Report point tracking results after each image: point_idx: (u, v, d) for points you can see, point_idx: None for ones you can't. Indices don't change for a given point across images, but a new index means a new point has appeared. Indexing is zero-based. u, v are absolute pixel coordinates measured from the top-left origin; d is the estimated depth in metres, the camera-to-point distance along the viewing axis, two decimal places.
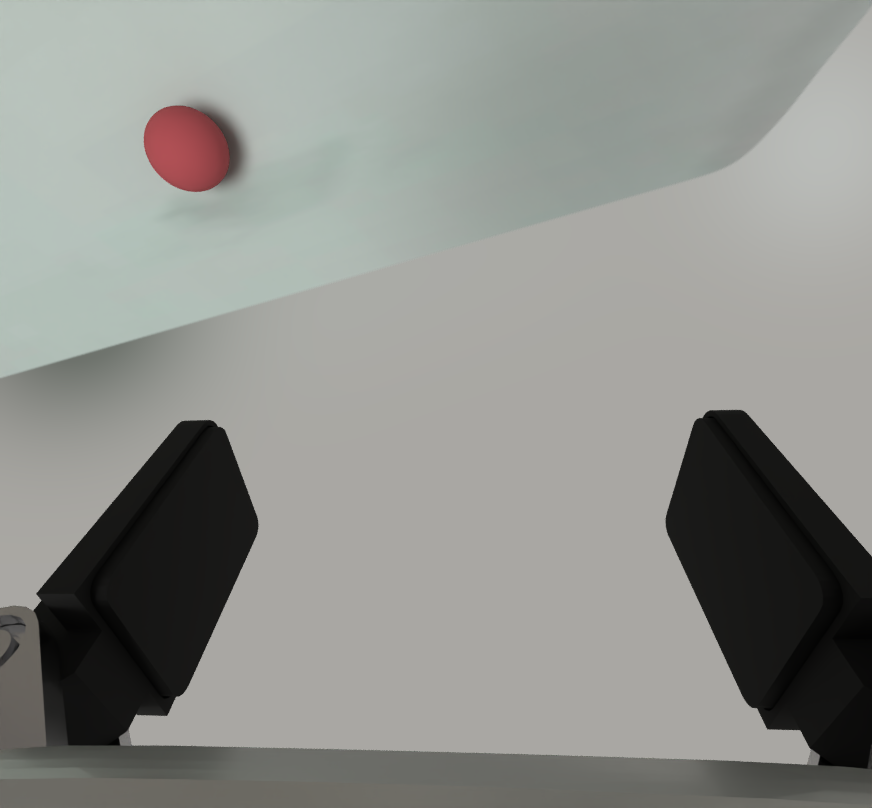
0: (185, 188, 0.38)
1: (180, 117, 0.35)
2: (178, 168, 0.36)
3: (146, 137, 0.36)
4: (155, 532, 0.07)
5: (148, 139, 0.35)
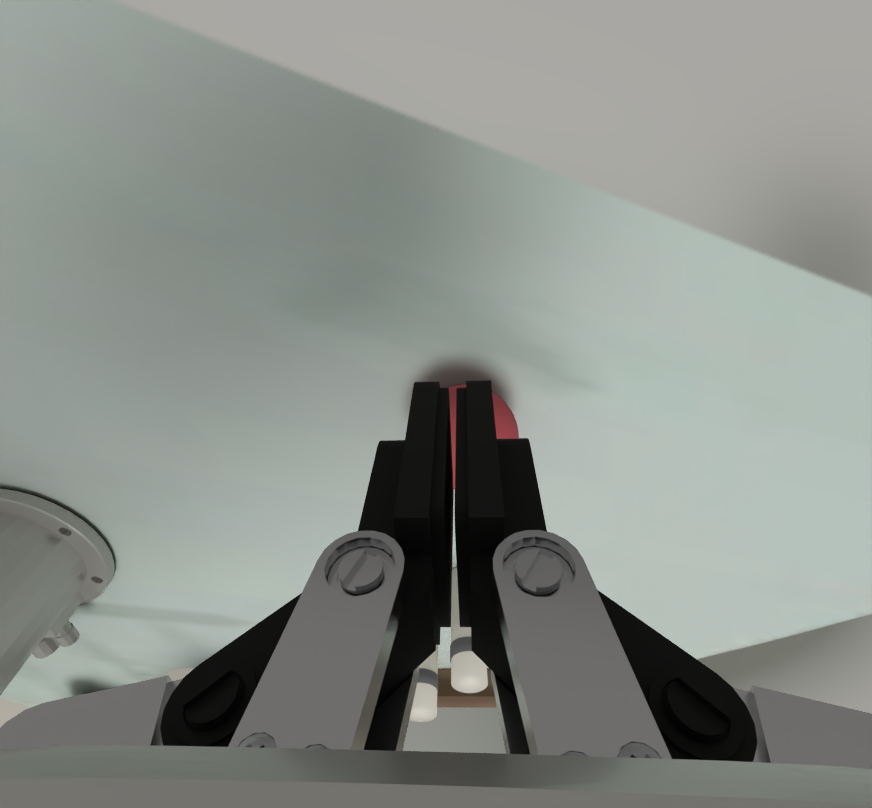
0: (498, 425, 0.25)
1: None
2: None
3: None
4: (446, 474, 0.08)
5: None
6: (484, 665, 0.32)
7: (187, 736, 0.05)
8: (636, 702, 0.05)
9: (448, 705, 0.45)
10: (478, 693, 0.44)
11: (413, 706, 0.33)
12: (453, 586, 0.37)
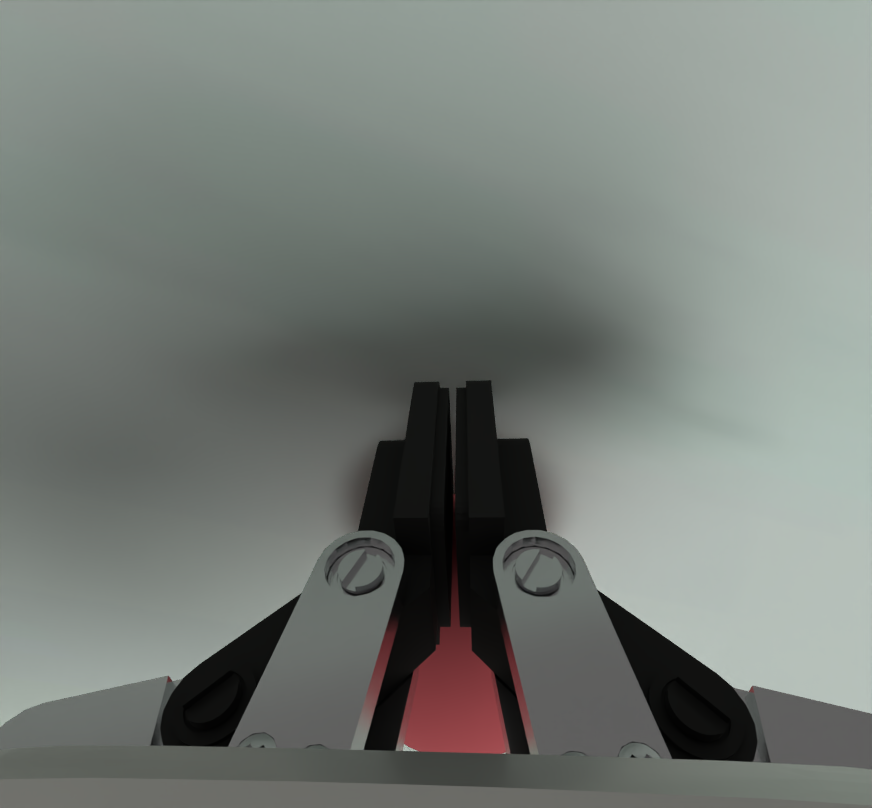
0: None
1: None
2: None
3: None
4: (446, 474, 0.08)
5: None
6: None
7: (187, 736, 0.05)
8: (636, 702, 0.05)
9: None
10: None
11: None
12: None
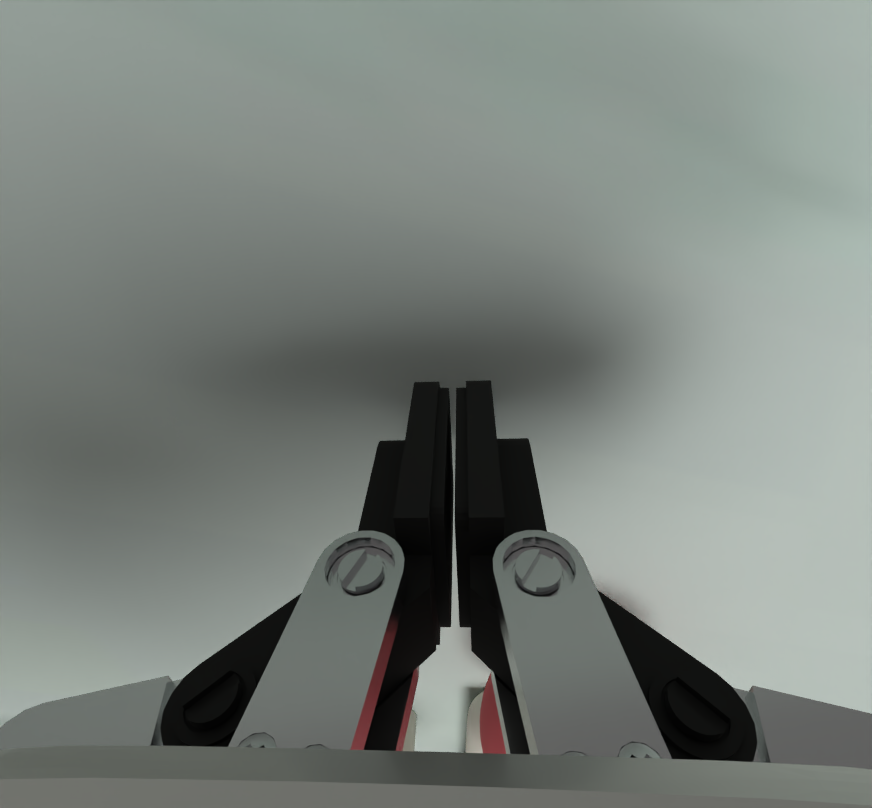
0: None
1: None
2: None
3: None
4: (446, 473, 0.08)
5: None
6: None
7: (187, 736, 0.05)
8: (637, 702, 0.05)
9: None
10: None
11: None
12: None
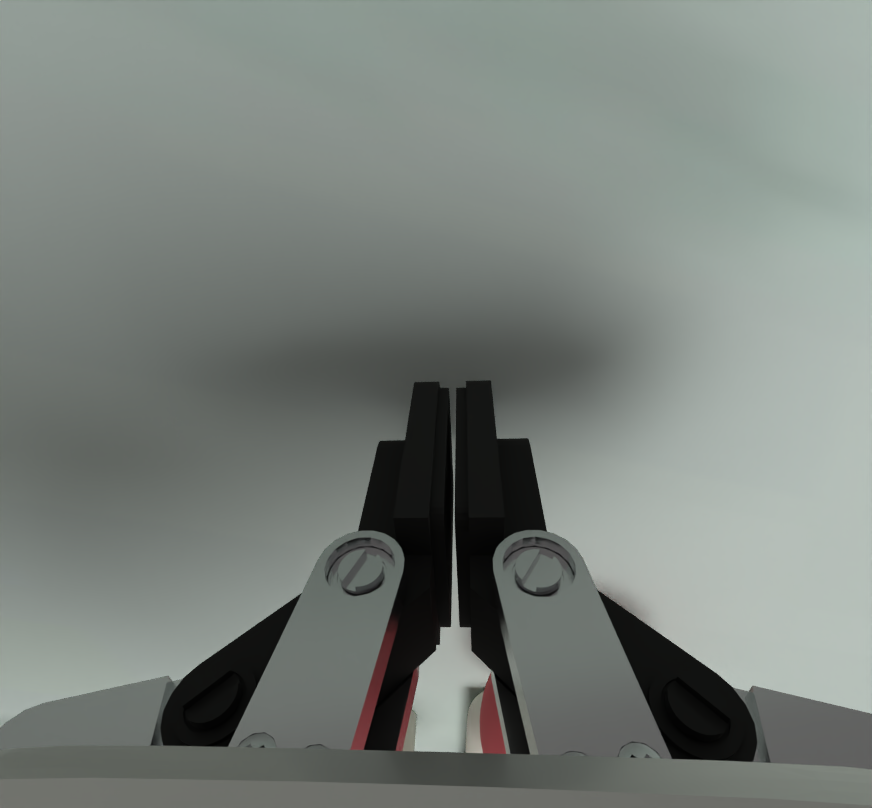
0: None
1: None
2: None
3: None
4: (446, 473, 0.08)
5: None
6: None
7: (187, 736, 0.05)
8: (637, 702, 0.05)
9: None
10: None
11: None
12: None
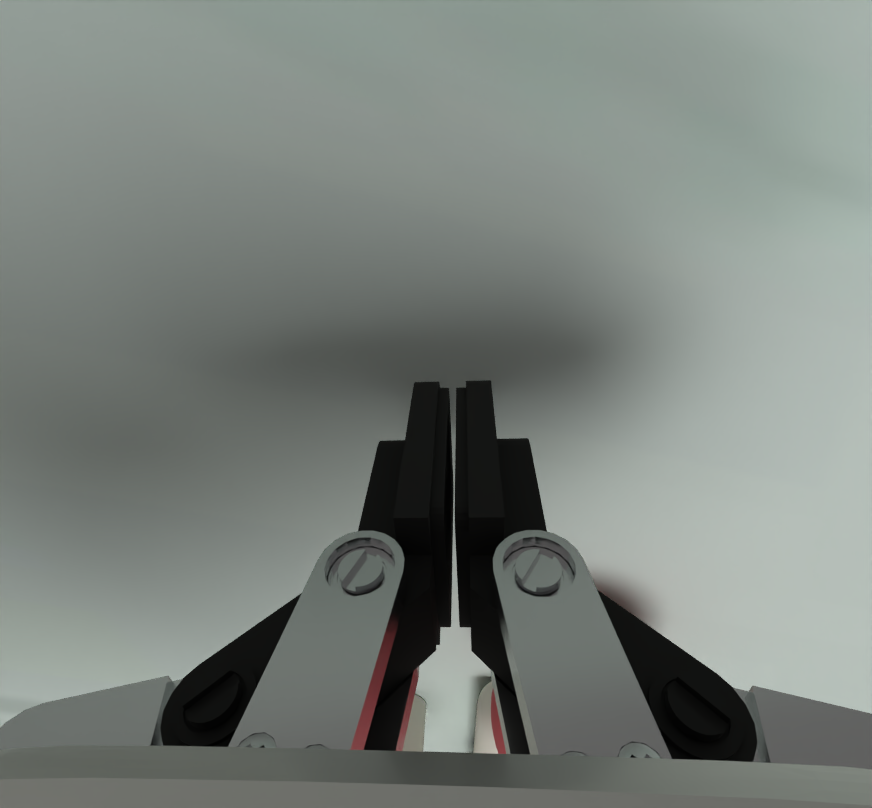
0: None
1: None
2: None
3: None
4: (446, 474, 0.08)
5: None
6: None
7: (187, 736, 0.05)
8: (636, 703, 0.05)
9: None
10: None
11: None
12: None
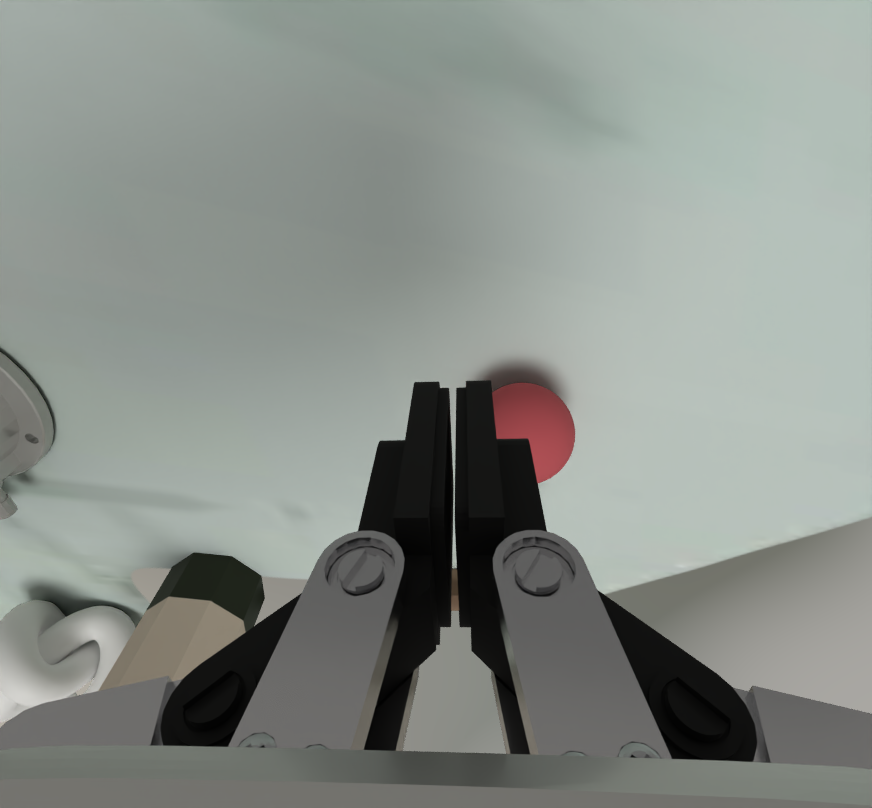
0: None
1: None
2: None
3: (540, 398, 0.26)
4: (446, 473, 0.08)
5: (535, 394, 0.26)
6: None
7: (187, 736, 0.05)
8: (636, 703, 0.05)
9: None
10: None
11: None
12: None
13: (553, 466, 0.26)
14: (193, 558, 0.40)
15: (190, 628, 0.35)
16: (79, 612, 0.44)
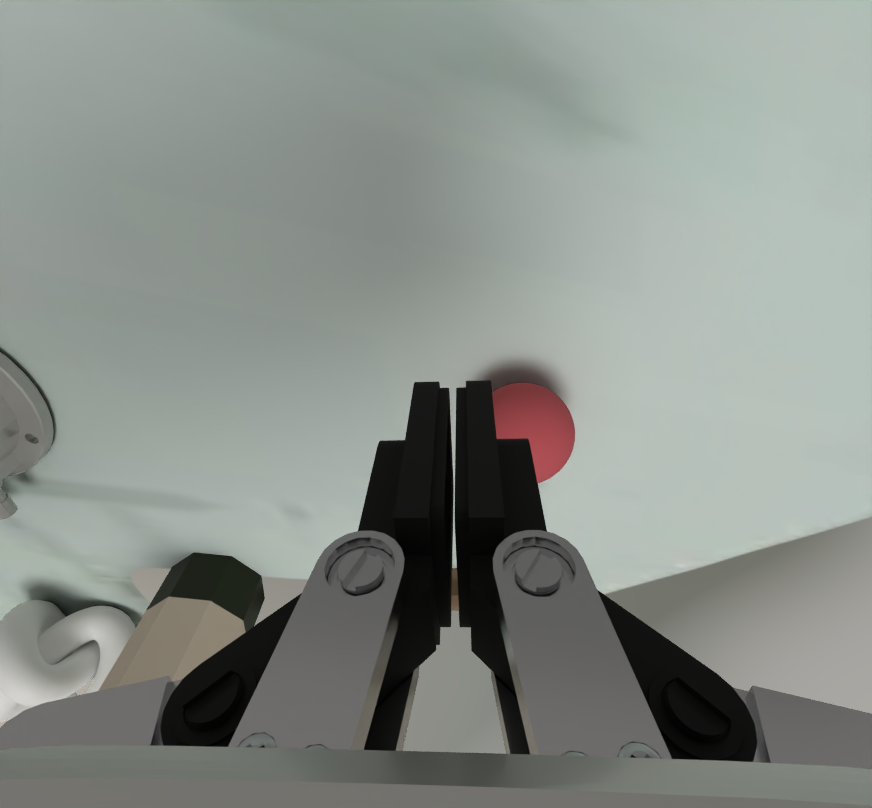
0: None
1: None
2: None
3: (540, 398, 0.26)
4: (446, 473, 0.08)
5: (535, 394, 0.26)
6: None
7: (187, 735, 0.05)
8: (637, 703, 0.05)
9: None
10: None
11: None
12: None
13: (553, 466, 0.26)
14: (193, 558, 0.40)
15: (190, 628, 0.35)
16: (79, 612, 0.44)
